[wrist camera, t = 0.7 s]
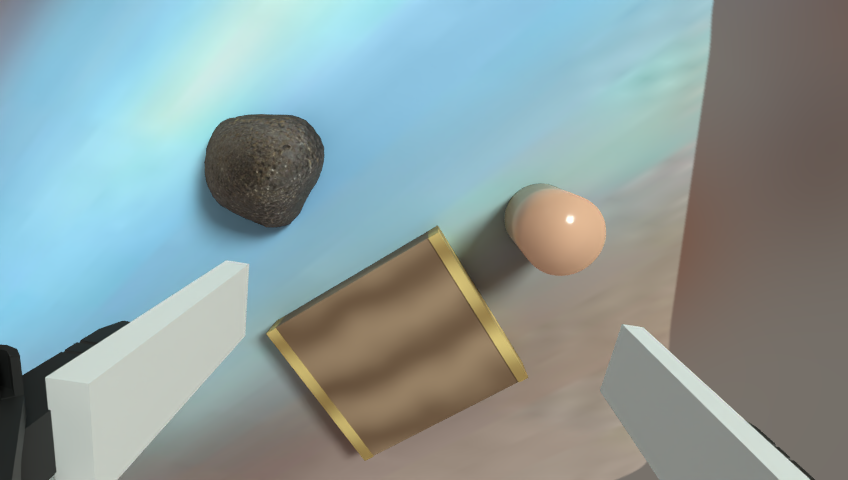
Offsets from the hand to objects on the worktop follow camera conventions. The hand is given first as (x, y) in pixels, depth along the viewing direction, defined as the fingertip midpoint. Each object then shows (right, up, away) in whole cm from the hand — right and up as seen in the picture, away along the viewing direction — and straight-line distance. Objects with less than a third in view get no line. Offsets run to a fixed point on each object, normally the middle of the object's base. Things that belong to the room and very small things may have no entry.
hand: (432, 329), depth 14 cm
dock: (-3, -7, +25) cm, 26 cm away
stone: (-13, +10, +21) cm, 27 cm away
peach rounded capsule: (+10, +5, +22) cm, 24 cm away
